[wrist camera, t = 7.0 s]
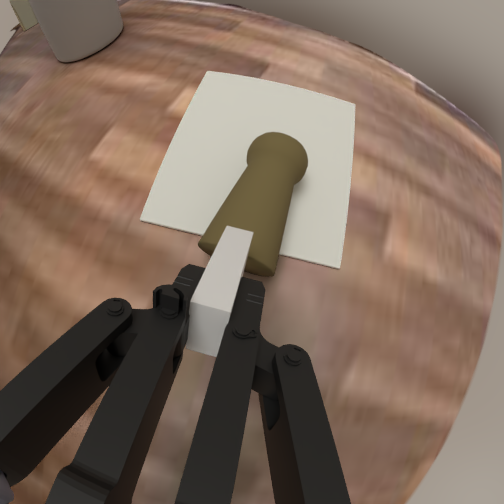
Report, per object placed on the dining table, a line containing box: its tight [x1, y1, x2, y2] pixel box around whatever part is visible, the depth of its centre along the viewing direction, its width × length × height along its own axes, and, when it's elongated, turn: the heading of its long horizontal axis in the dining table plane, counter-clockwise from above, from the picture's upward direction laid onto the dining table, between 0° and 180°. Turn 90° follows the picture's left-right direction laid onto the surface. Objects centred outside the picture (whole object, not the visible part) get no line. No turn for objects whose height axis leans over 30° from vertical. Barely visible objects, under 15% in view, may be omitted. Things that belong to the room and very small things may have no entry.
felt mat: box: [140, 71, 355, 269], centre depth 27 cm, size 20×18×1 cm
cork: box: [198, 132, 308, 277], centre depth 23 cm, size 6×6×11 cm
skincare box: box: [10, 0, 38, 31], centre depth 30 cm, size 6×4×12 cm
